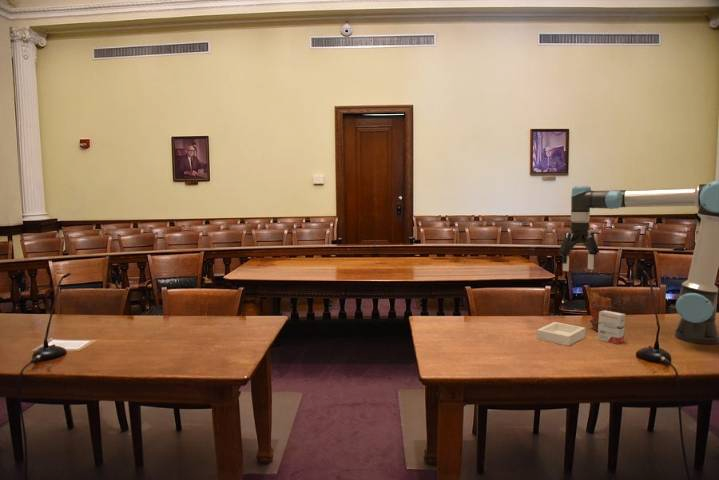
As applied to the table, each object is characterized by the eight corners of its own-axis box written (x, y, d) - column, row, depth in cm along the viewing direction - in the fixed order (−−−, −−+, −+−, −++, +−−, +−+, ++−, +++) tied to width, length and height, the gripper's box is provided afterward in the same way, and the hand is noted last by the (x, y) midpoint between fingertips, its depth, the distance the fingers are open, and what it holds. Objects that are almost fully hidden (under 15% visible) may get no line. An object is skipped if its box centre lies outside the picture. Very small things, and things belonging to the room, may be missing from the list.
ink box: (624, 342, 199) (626, 313, 198) (618, 344, 196) (620, 315, 194) (602, 337, 205) (604, 309, 204) (597, 339, 202) (598, 311, 201)
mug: (615, 333, 211) (617, 298, 209) (596, 333, 211) (598, 298, 209) (599, 324, 225) (601, 291, 224) (581, 323, 225) (583, 291, 224)
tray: (585, 336, 206) (585, 327, 206) (568, 345, 194) (568, 336, 194) (554, 330, 215) (554, 321, 215) (536, 338, 203) (536, 329, 203)
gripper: (595, 220, 224) (594, 267, 226) (550, 222, 216) (549, 270, 218) (609, 221, 217) (607, 269, 219) (562, 223, 209) (561, 272, 211)
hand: (578, 270), depth 218 cm, fingers open, 13 cm apart
